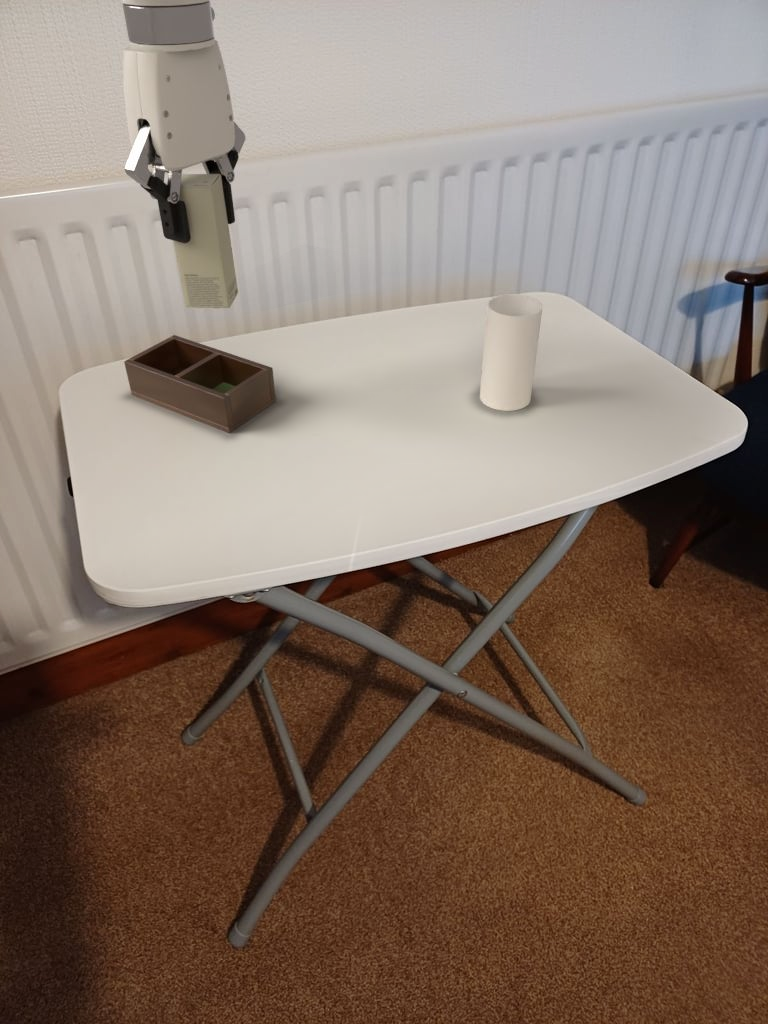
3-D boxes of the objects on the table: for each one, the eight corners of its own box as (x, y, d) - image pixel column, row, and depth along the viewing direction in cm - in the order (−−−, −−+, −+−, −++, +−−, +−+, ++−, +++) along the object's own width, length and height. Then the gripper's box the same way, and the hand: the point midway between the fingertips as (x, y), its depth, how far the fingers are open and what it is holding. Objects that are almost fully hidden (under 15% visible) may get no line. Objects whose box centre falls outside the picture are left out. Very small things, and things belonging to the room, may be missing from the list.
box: (239, 294, 87) (225, 172, 79) (229, 310, 84) (213, 185, 76) (193, 292, 88) (174, 171, 80) (181, 308, 84) (160, 183, 76)
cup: (493, 414, 93) (502, 320, 85) (471, 390, 97) (478, 298, 90) (539, 405, 94) (552, 312, 87) (516, 381, 99) (526, 290, 91)
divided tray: (229, 433, 90) (224, 398, 87) (131, 394, 96) (123, 361, 94) (276, 401, 95) (272, 367, 92) (180, 367, 102) (174, 334, 99)
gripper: (206, 13, 77) (229, 202, 88) (63, 35, 66) (111, 249, 77) (265, 18, 74) (281, 213, 85) (126, 43, 62) (166, 264, 74)
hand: (200, 228), depth 81 cm, fingers closed on box, 5 cm apart
